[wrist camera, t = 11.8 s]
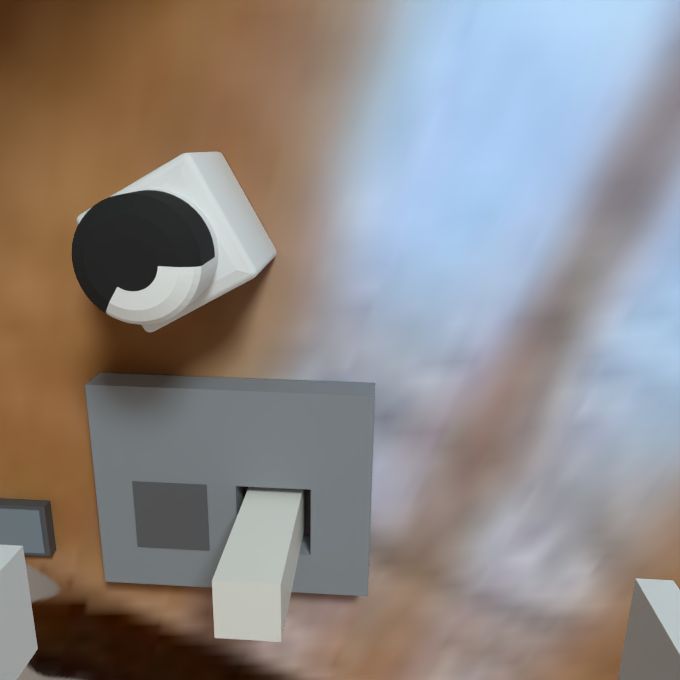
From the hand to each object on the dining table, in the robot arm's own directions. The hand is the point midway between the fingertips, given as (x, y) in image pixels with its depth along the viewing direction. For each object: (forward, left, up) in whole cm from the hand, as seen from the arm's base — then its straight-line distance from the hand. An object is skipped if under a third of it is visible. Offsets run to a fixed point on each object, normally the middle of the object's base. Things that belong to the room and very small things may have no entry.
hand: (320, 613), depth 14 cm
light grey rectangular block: (+17, -6, -32) cm, 36 cm away
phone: (+20, -28, -32) cm, 47 cm away
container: (-4, -11, -32) cm, 34 cm away
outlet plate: (+15, -9, -32) cm, 36 cm away
